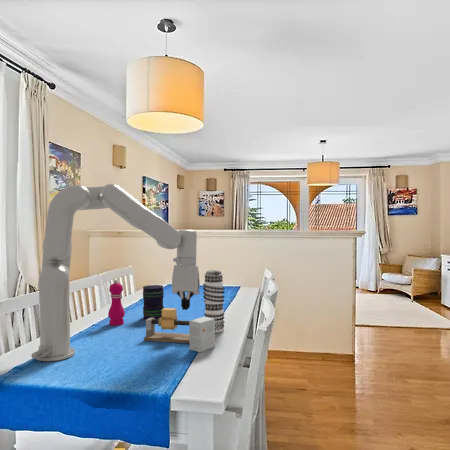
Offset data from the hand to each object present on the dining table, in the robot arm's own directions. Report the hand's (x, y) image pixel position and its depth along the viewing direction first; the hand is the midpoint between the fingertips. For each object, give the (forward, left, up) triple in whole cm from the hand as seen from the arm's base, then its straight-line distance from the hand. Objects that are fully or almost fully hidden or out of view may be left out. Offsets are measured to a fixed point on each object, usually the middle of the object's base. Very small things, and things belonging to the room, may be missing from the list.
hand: (185, 309), depth 155 cm
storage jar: (+32, +27, -12) cm, 44 cm away
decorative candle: (+16, -7, -12) cm, 22 cm away
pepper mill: (+18, +39, -12) cm, 45 cm away
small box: (-9, -9, -12) cm, 18 cm away
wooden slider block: (0, +7, -8) cm, 10 cm away
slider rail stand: (0, +5, -12) cm, 13 cm away
